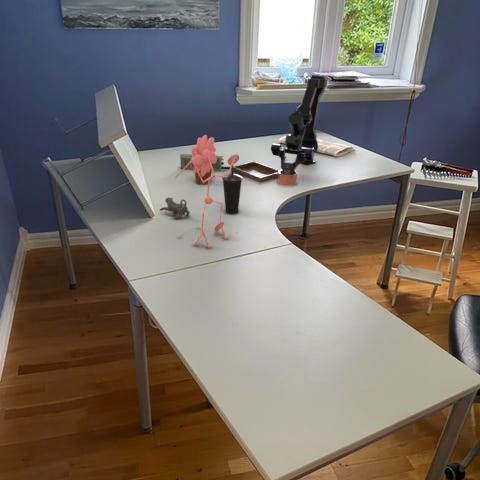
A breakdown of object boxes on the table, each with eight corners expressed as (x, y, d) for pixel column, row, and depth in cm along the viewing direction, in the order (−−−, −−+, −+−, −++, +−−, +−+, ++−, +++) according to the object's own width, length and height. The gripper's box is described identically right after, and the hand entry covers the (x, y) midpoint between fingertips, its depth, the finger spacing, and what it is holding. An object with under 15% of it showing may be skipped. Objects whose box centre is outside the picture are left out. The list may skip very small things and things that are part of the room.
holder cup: (286, 178, 224) (287, 168, 221) (299, 183, 219) (301, 172, 216) (274, 182, 219) (274, 171, 217) (287, 187, 215) (288, 176, 212)
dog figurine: (192, 217, 187) (191, 198, 182) (182, 221, 183) (181, 202, 179) (169, 209, 192) (168, 190, 188) (159, 213, 189) (157, 194, 184)
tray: (253, 166, 237) (253, 161, 236) (282, 177, 226) (282, 171, 224) (231, 172, 229) (231, 166, 228) (260, 183, 218) (260, 178, 216)
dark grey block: (282, 180, 221) (284, 160, 215) (293, 182, 219) (294, 162, 214) (280, 182, 218) (282, 162, 213) (291, 184, 217) (292, 163, 212)
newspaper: (277, 143, 270) (278, 138, 269) (297, 136, 283) (298, 131, 281) (335, 157, 252) (336, 152, 250) (354, 149, 264) (354, 144, 262)
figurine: (242, 232, 177) (246, 131, 157) (194, 257, 160) (191, 149, 140) (210, 220, 184) (209, 123, 164) (161, 243, 168) (153, 138, 147)
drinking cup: (221, 208, 194) (221, 157, 183) (240, 207, 195) (241, 157, 183) (222, 215, 188) (222, 164, 177) (242, 215, 189) (243, 163, 177)
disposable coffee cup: (197, 187, 213) (196, 159, 206) (189, 180, 220) (188, 153, 213) (217, 183, 216) (217, 156, 209) (208, 177, 223) (208, 150, 216)
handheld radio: (181, 166, 234) (233, 169, 232) (180, 169, 232) (232, 172, 230) (181, 153, 230) (233, 155, 228) (179, 155, 227) (233, 158, 226)
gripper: (273, 124, 211) (263, 157, 209) (315, 129, 206) (305, 163, 204) (277, 138, 222) (268, 170, 220) (317, 144, 217) (308, 176, 215)
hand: (287, 169), depth 214 cm, fingers closed on dark grey block, 5 cm apart
